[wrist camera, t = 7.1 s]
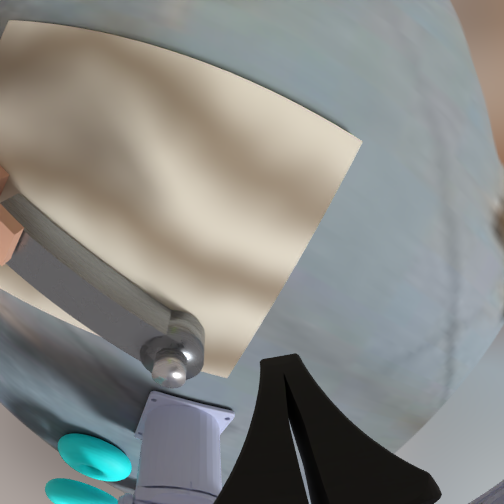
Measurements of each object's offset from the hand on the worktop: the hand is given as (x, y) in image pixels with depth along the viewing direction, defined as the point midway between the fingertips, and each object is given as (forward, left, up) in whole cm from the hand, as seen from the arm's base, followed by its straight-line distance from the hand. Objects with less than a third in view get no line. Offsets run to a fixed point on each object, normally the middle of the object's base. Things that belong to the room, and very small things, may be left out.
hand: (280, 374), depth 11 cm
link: (-5, +9, -8) cm, 13 cm away
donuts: (-32, +7, -10) cm, 35 cm away
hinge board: (0, +10, -9) cm, 14 cm away
